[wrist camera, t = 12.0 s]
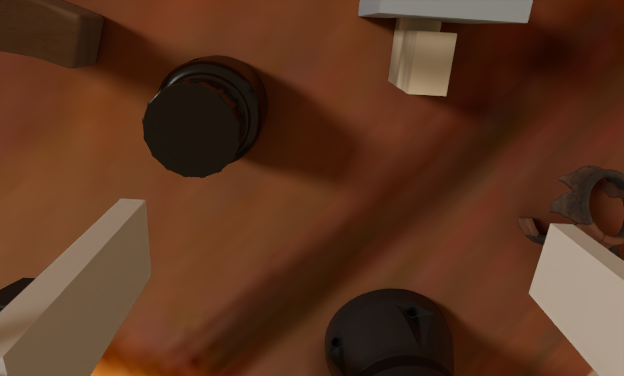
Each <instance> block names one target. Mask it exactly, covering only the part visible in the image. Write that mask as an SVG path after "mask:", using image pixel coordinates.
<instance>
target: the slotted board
mask: <svg viewBox="0 0 624 376" xmlns="http://www.w3.org/2000/svg"><path fill="white" fill-rule="evenodd" d="M441 22H442V21H440V20H426V19H411V18H397V17H396V24H395V32H394V40H393V48H392V56H391V63H390V71H389V79H388V81H389V82H390V83H392V84H394V85H395V86H397V87H398V88H400V89H401V90H403V91H404V92H406V93H408V94H418V95H434V96H446V94H447V89H448V83H449V77H450V72H451V66H452V61H453V55H454V50H455V44H456V38H457V33H444V32H440V28H441Z"/></svg>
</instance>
